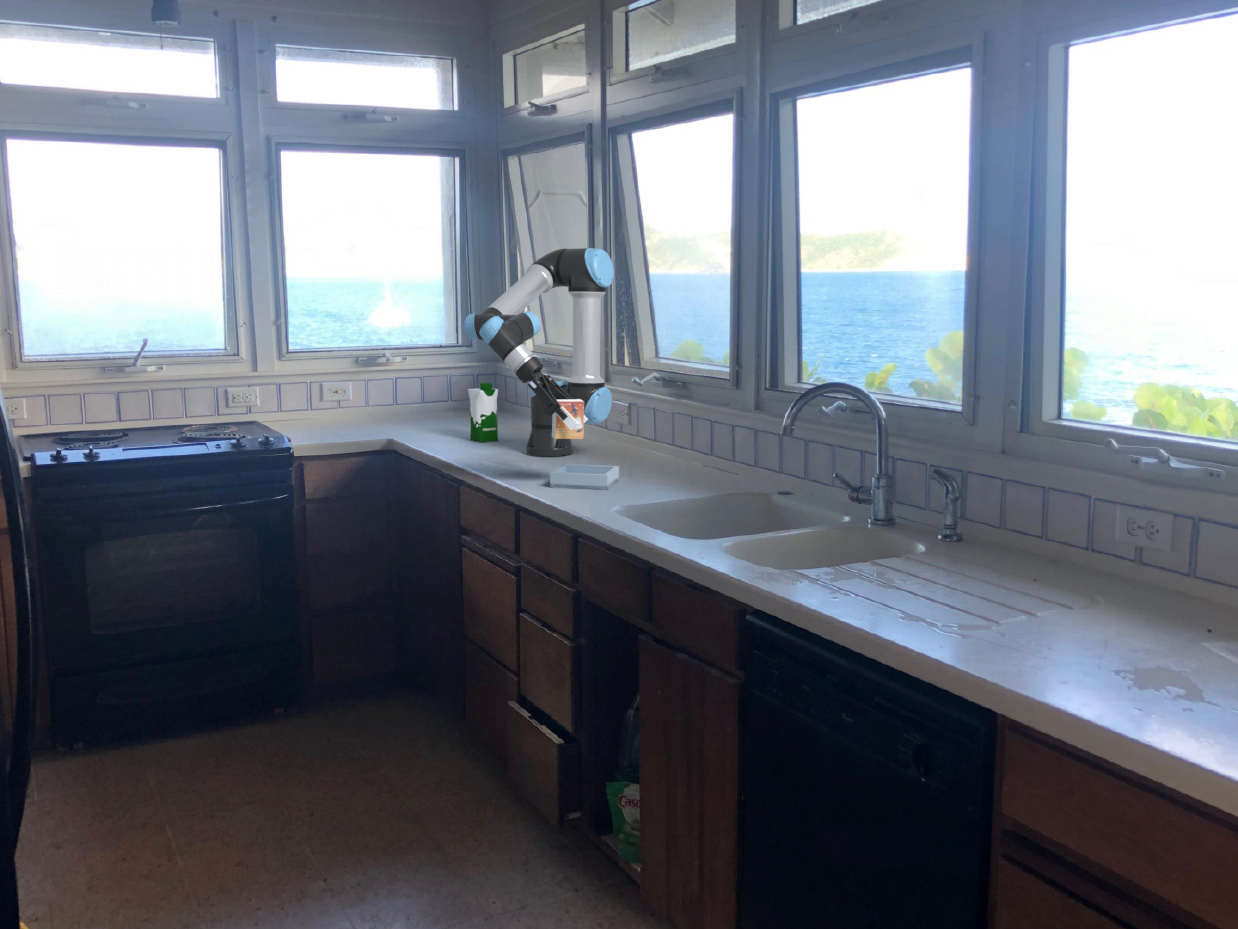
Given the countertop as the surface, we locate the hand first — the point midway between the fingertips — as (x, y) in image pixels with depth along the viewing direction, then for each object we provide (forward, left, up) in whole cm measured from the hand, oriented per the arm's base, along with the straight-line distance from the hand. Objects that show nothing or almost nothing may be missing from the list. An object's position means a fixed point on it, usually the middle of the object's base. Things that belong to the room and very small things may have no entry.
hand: (579, 424), depth 296 cm
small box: (0, -3, -4) cm, 5 cm away
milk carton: (-68, -52, -16) cm, 87 cm away
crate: (0, +2, -16) cm, 16 cm away
